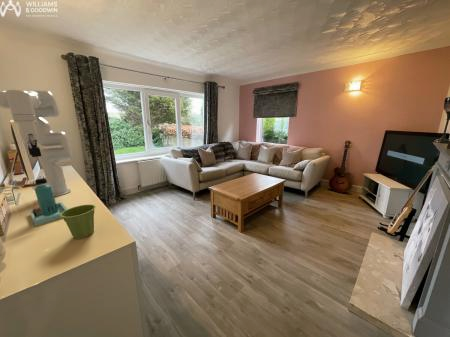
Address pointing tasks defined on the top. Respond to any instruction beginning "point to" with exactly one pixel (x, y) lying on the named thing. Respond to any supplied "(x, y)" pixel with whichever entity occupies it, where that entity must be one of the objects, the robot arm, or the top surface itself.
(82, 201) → the top surface
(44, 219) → the tray
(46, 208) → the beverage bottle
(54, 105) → the robot arm
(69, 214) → the plant pot
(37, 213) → the walnut block
